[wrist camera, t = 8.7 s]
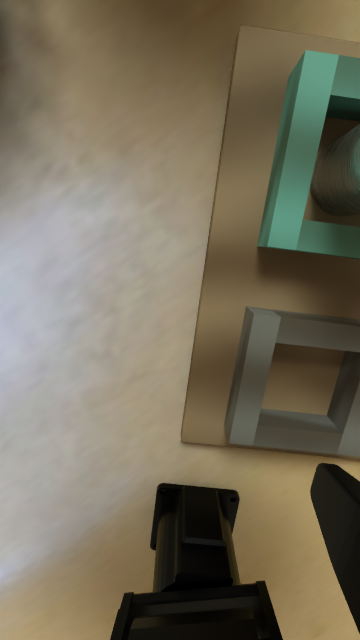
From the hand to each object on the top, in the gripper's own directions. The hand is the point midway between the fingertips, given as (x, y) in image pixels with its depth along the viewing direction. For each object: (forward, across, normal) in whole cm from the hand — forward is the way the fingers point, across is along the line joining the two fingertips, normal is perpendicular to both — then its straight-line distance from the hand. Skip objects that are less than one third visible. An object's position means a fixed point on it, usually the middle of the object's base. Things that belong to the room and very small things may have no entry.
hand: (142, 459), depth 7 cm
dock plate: (+12, -9, -4) cm, 16 cm away
